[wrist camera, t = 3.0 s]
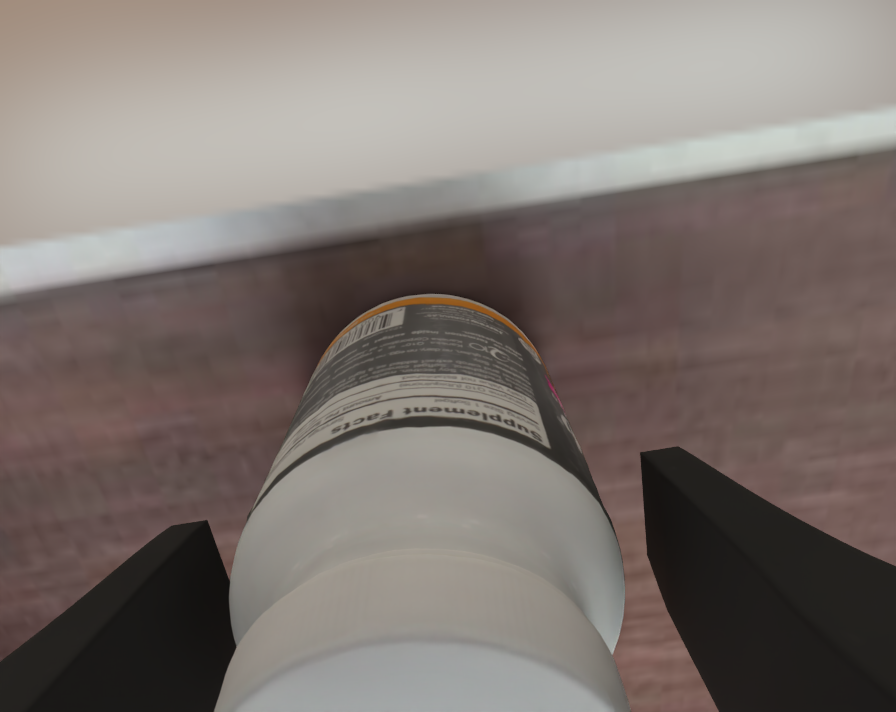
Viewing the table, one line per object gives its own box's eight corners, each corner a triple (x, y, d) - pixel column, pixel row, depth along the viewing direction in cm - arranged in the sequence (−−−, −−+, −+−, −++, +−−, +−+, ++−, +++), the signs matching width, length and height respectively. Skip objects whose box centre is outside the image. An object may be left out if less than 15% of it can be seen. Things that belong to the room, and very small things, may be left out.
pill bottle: (540, 497, 17) (664, 971, 8) (318, 497, 17) (182, 979, 8) (556, 285, 15) (754, 595, 6) (303, 283, 15) (90, 597, 6)
